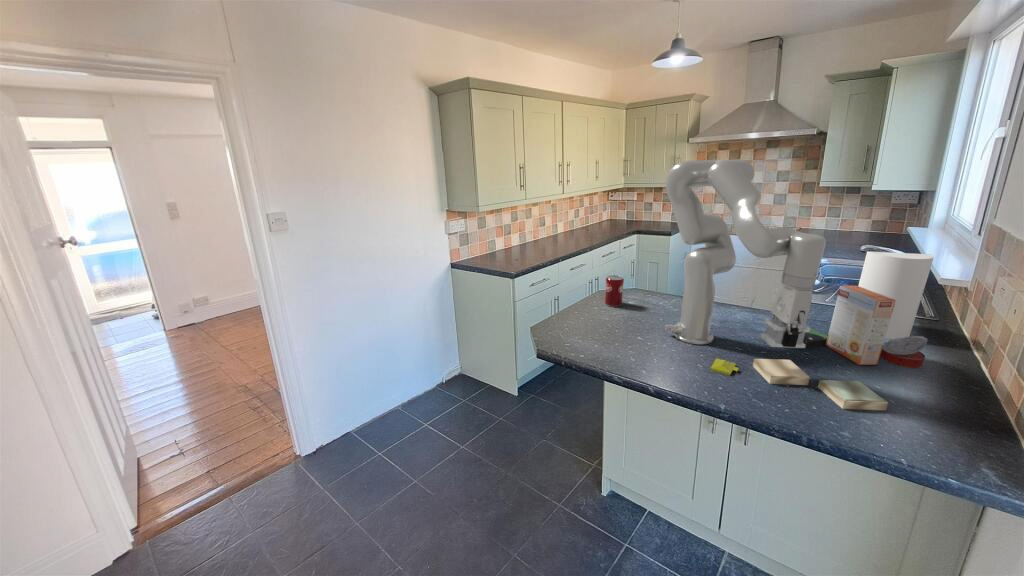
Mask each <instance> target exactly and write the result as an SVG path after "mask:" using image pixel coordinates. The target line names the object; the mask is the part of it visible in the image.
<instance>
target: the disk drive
mask: <svg viewBox="0 0 1024 576" xmlns="http://www.w3.org/2000/svg"><path fill="white" fill-rule="evenodd" d="M808 327H809V328H810V332H805V336H804V339H803V343H804V344H805V345H806V346H805V348H796V349H797V350H802V349H808V348H814V347H820V346H821V347H822V346H826V341H827V337H828V333H825V332H823V331H818V330H816V329H814V328H812V327H810V326H808Z"/></svg>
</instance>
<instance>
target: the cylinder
mask: <svg viewBox="0 0 1024 576" xmlns="http://www.w3.org/2000/svg"><path fill="white" fill-rule="evenodd" d="M934 257H935V256H934V255H933V254H929V253H908V252H907V253H906V252H905V253H904V252H887V251H885V252H884V251H866V255H865V258H864V261H863V267H862V270H861V273H860V278H859V282H858V285H857V286H859V287H862V288H865V289H867V290H870V291H873V292H875V293H878V294H881V295H884V296H886V297H889V298H892V299H894V300H896V302H895V305H894V309H893V312H892V315H891V319H890V322H889V326H888V329H887V333H886V336H885V339H887V340H893V339H896V338H902V337H909V336H910V335H911V333H912V329H913V327H914V323H915V320H916V316H917V313H918V310H919V306H920V304H921V300H922V297H923V293H924V291H925V289H926V288H925V287H926V284H927V281H928V278H929V274H930V272H931V268H932V265H933V262H934Z"/></svg>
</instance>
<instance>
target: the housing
mask: <svg viewBox="0 0 1024 576" xmlns="http://www.w3.org/2000/svg"><path fill="white" fill-rule="evenodd" d="M763 322H764V323H766V326H765V331H764V333H760V338H761V339H762V340H763V341H764V342H765V344H767V345H768V346H769V347H771V348H772V347H773V348H785V347H784V346H783V341H784V337H785V333H788V324H785V323H784V322H783V321H781V320H780V319H779V318H773V317H764V320H763ZM794 323H797V321H794ZM809 327H810V326H808V325H807V329H806V330H805V331H803V332H802V333H801V334H800V335H799V336H798V340H797V343H796V347H789V348H792V349H793V348H794V349H797V348H803V349H806V348H805V346H806V345H805V344H804V343H803V339H804V336H805V332H810V328H811V327H810V328H809ZM794 328H796V325H792V329H794Z"/></svg>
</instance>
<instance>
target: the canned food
mask: <svg viewBox="0 0 1024 576" xmlns="http://www.w3.org/2000/svg"><path fill="white" fill-rule="evenodd" d="M927 343H928V338H926V337H925V336H922V335H918V336H917V335H911V336H909V337H902V338H896V339H889V340H888V341H886V342H884V343H883V346H882V350H881V353H880V357H879V359H882V360H883V361H885V362H887V363H890V364H892V365H895V366H900V367H903V368H911V369H916V368H921V367H923V365H924V361H925V358H926V355H925V354H924V353H922V352H921V351H922V350H924V348H925V347H926V346H927Z"/></svg>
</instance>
